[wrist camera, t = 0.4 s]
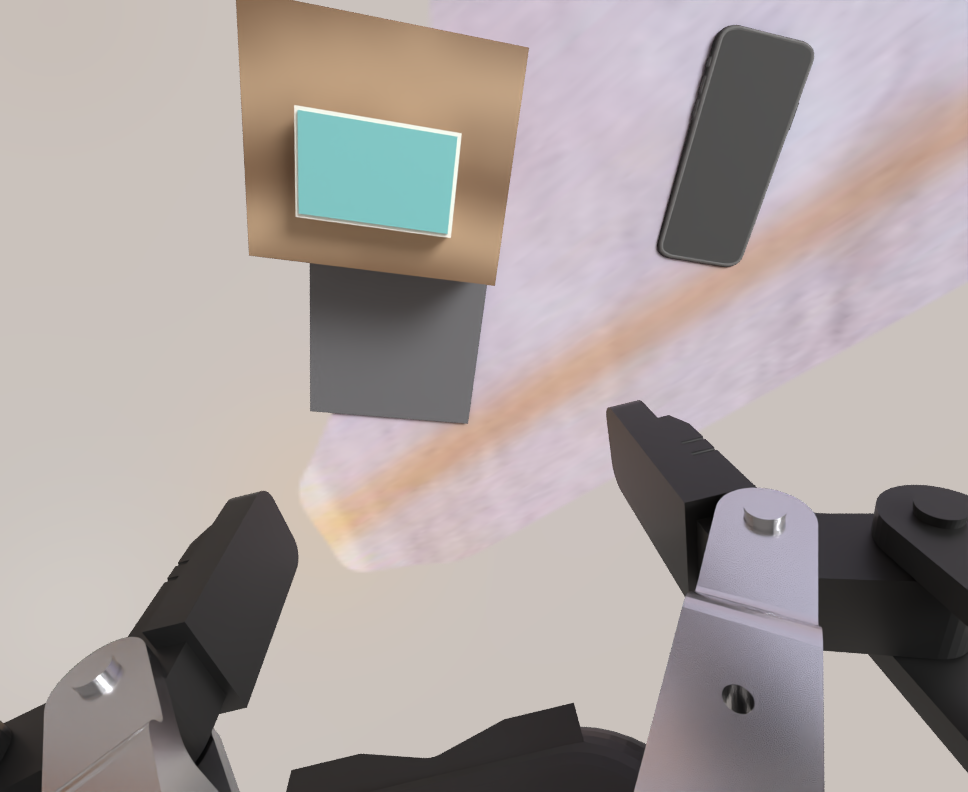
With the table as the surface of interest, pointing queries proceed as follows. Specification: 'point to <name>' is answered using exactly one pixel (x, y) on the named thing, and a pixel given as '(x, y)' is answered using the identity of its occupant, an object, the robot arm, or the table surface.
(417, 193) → the card box
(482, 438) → the table surface
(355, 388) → the rubber mat
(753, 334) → the table surface
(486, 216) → the brown wooden block
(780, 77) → the smartphone
